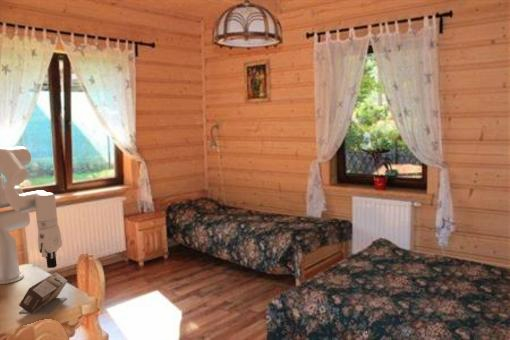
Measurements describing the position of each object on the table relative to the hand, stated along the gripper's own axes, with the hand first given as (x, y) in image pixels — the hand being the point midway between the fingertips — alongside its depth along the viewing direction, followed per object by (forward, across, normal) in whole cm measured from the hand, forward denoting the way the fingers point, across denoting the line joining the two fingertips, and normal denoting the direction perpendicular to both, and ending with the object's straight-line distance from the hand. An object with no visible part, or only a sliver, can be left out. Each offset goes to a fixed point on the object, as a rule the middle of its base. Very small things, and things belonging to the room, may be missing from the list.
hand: (52, 267), depth 184 cm
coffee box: (+6, -2, -3) cm, 7 cm away
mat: (+12, -10, -1) cm, 16 cm away
